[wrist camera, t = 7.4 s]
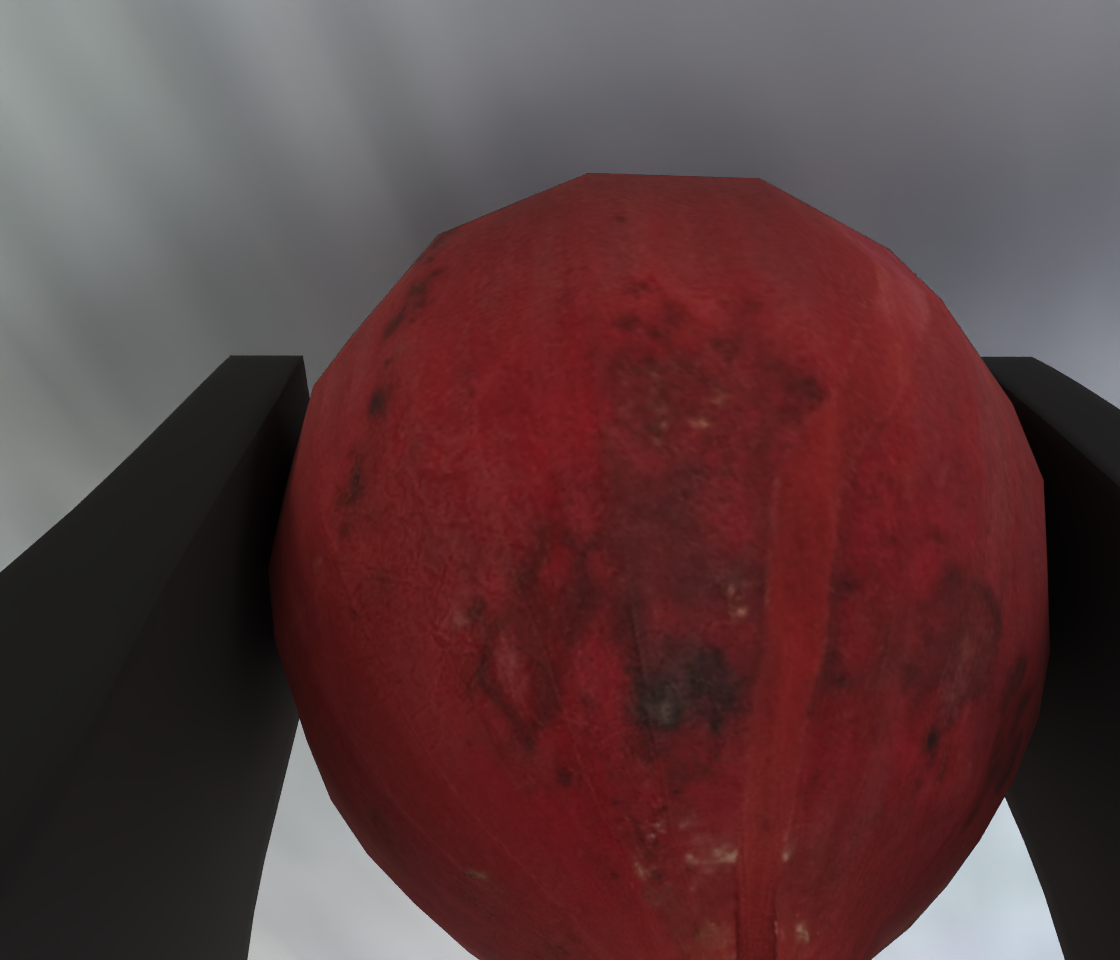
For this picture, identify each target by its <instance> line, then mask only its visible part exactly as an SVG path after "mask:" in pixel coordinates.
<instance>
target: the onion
mask: <svg viewBox="0 0 1120 960" xmlns="http://www.w3.org/2000/svg"><path fill="white" fill-rule="evenodd" d="M268 576H269V586H270V596H271V606H272V616H273V627H274V637H275V644H276V647H277V650H278V653H279V656H280V659H281V662H282V666H283V669H284V672H285V675H286V678H287V681H288V684H289V687H290V690H291V693H292V696H293V700H294V703H295V706H296V709H297V712H298V715H299V718H300V721H301V724H302V727H303V730H304V734H305V737H306V740H307V742H308V745H309V747H310V750H311V752H312V755H313V757H314V760H315V762H316V765H317V767H318V769H319V772H320V774H321V777H322V779H323V782H324V784H325V787H326V789H327V792H328V794H329V796H330V799H331V801H332V802H333V804H334V805H335V807H336V808H337V810H338V811H339V813H340V814H341V816H342V817H343V819H344V820H345V822H346V823H347V825H348V826H349V828H350V829H351V831H352V832H353V833H354V835H355V836H356V838H357V839H358V841H359V842H360V844H361V845H362V847H363V848H364V850H365V851H366V853H367V854H368V855H369V856H370V857H371V858H372V859H373V860H374V862H375V863H376V864H377V865H378V866H379V867H380V868H381V869H382V870H383V871H384V872H385V873H386V874H387V875H388V876H389V877H390V878H391V879H392V880H393V882H394V883H395V884H396V885H397V886H398V887H399V888H400V889H401V890H402V891H403V892H404V893H405V894H406V895H407V896H408V897H409V898H410V899H411V900H412V901H413V903H414V904H416V905H417V906H418V907H419V908H420V909H421V910H422V911H423V912H424V913H426V914H427V915H428V916H429V917H430V918H431V919H432V920H433V921H434V922H436V923H437V924H438V925H439V926H440V927H441V928H442V929H443V930H444V931H446V932H447V933H448V934H449V935H450V936H451V937H452V938H453V939H454V940H456V941H457V942H458V943H459V944H460V945H461V946H462V947H463V948H465V949H466V950H467V951H468V952H469V953H470V954H472V955H473V956H475V957H476V958H478V959H479V960H871V959H872V958H874V957H875V956H876V955H877V954H878V953H880V952H881V951H882V950H883V949H884V948H886V947H887V946H888V945H889V944H891V943H892V942H893V941H894V940H895V939H897V938H898V937H899V936H900V935H901V934H903V933H904V932H905V931H906V930H907V929H909V928H910V927H911V926H912V925H913V923H914V922H915V921H916V920H917V919H918V918H919V917H920V916H921V914H922V913H923V912H924V911H925V910H926V909H927V908H928V907H929V906H930V904H931V903H932V902H933V901H934V900H935V899H936V898H937V897H938V895H939V894H940V893H941V892H942V891H943V890H944V889H945V888H946V886H947V885H948V884H949V882H950V881H951V880H952V878H953V877H954V876H955V874H956V873H957V871H958V870H959V869H960V867H961V866H962V864H963V863H964V862H965V860H966V859H967V857H968V856H969V855H970V853H971V852H972V850H973V849H974V848H975V846H976V845H977V844H978V842H979V841H980V839H981V837H982V836H983V834H984V832H985V830H986V829H987V827H988V825H989V823H990V822H991V820H992V818H993V816H994V815H995V813H996V811H997V809H998V808H999V806H1000V804H1001V802H1002V801H1003V799H1004V797H1005V795H1006V793H1007V792H1008V790H1009V788H1010V786H1011V785H1012V783H1013V781H1014V779H1015V776H1016V774H1017V771H1018V769H1019V766H1020V764H1021V761H1022V758H1023V756H1024V753H1025V751H1026V748H1027V746H1028V743H1029V741H1030V738H1031V736H1032V733H1033V730H1034V728H1035V725H1036V723H1037V720H1038V717H1039V712H1040V706H1041V700H1042V694H1043V689H1044V683H1045V677H1046V671H1047V666H1048V660H1049V654H1050V632H1049V602H1048V573H1047V548H1046V525H1045V502H1044V480H1043V478H1042V475H1041V473H1040V470H1039V468H1038V465H1037V463H1036V461H1035V458H1034V456H1033V453H1032V451H1031V448H1030V446H1029V443H1028V441H1027V438H1026V436H1025V433H1024V431H1023V429H1022V426H1021V424H1020V421H1019V419H1018V416H1017V414H1016V411H1015V409H1014V406H1013V404H1012V402H1011V401H1010V400H1009V398H1008V397H1007V395H1006V394H1005V392H1004V391H1003V389H1002V388H1001V386H1000V385H999V383H998V382H997V380H996V379H995V378H994V376H993V375H992V373H991V372H990V370H989V369H988V367H987V366H986V364H985V363H984V361H983V360H982V358H981V357H980V356H979V354H978V353H977V351H976V350H975V348H974V347H973V345H972V344H971V342H970V341H969V339H968V338H967V336H966V335H965V334H964V332H963V331H962V329H961V328H960V326H959V325H958V323H957V322H956V320H955V319H954V317H953V316H952V314H951V313H950V311H949V310H948V309H947V307H946V306H945V304H944V303H943V301H942V300H941V299H940V298H939V297H938V296H937V295H936V294H935V293H934V292H933V291H932V290H931V289H930V288H929V287H928V286H927V285H926V284H925V283H924V282H923V281H922V280H921V279H920V278H919V277H917V276H916V275H915V274H914V273H913V272H912V271H911V270H910V269H909V268H908V267H907V266H906V265H905V264H904V263H903V262H902V261H901V260H900V259H899V258H898V257H897V256H896V255H895V254H894V253H893V252H891V251H890V250H889V249H888V248H886V247H884V246H882V245H880V244H879V243H877V242H875V241H873V240H871V239H869V238H868V237H866V236H864V235H862V234H860V233H859V232H857V231H855V230H853V229H851V228H849V227H848V226H846V225H844V224H842V223H840V222H838V221H837V220H835V219H833V218H831V217H829V216H828V215H826V214H824V213H822V212H820V211H818V210H817V209H815V208H813V207H811V206H809V205H808V204H806V203H804V202H802V201H800V200H798V199H797V198H795V197H793V196H791V195H789V194H787V193H786V192H784V191H782V190H780V189H778V188H777V187H775V186H773V185H771V184H769V183H767V182H766V181H764V180H762V179H760V178H733V177H701V176H669V175H637V174H605V173H587V174H585V175H582V176H580V177H577V178H575V179H572V180H570V181H568V182H565V183H563V184H560V185H558V186H555V187H553V188H551V189H548V190H546V191H543V192H541V193H538V194H536V195H533V196H531V197H529V198H526V199H524V200H521V201H519V202H516V203H514V204H512V205H509V206H507V207H504V208H502V209H499V210H497V211H494V212H492V213H490V214H487V215H485V216H482V217H480V218H477V219H475V220H473V221H470V222H468V223H465V224H463V225H460V226H458V227H455V228H453V229H451V230H448V231H446V232H443V233H441V234H438V235H437V237H436V238H435V239H434V240H433V241H432V242H431V244H430V245H429V246H428V247H427V248H426V249H425V251H424V252H423V253H422V254H421V255H420V256H419V258H418V259H417V260H416V261H415V262H414V264H413V265H412V266H411V267H410V268H409V269H408V271H407V272H406V273H405V274H404V275H403V276H402V278H401V279H400V280H399V281H398V282H397V283H396V285H395V286H394V287H393V288H392V289H391V291H390V292H389V293H388V294H387V295H386V296H385V298H384V299H383V300H382V301H381V302H380V303H379V305H378V306H377V307H376V308H375V309H374V310H373V312H372V313H371V314H370V315H369V316H368V317H367V319H366V320H365V321H364V322H363V323H362V325H361V326H360V327H359V328H358V329H357V330H356V332H355V333H354V334H353V335H352V336H351V338H350V339H349V340H348V342H347V343H346V344H345V346H344V347H343V348H342V349H341V351H340V352H339V353H338V355H337V356H336V357H335V359H334V360H333V361H332V362H331V364H330V365H329V366H328V368H327V369H326V370H325V372H324V373H323V374H322V375H321V377H320V378H319V379H318V381H317V382H316V383H315V385H314V386H313V389H312V393H311V397H310V400H309V404H308V407H307V411H306V415H305V418H304V422H303V425H302V429H301V432H300V436H299V440H298V443H297V447H296V450H295V454H294V457H293V461H292V465H291V468H290V472H289V475H288V479H287V483H286V487H285V492H284V496H283V501H282V505H281V510H280V515H279V519H278V524H277V529H276V533H275V538H274V543H273V547H272V552H271V558H270V563H269V568H268Z"/></svg>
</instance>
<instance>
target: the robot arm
mask: <svg viewBox="0 0 1120 960" xmlns="http://www.w3.org/2000/svg"><path fill="white" fill-rule="evenodd" d="M981 358H982V360H983V361H984V363H985V364H986V366H987V367H988V369H989V370H990V372H991V373H992V375H993V376H994V378H995V379H996V380H997V382H998V383H999V385H1000V386H1001V388H1002V389H1003V391H1004V392H1005V394H1006V395H1007V397H1008V398H1009V400H1010V401H1011V402H1012V404H1013V406H1014V409H1015V411H1016V414H1017V416H1018V419H1019V421H1020V424H1021V426H1022V429H1023V431H1024V433H1025V436H1026V438H1027V441H1028V443H1029V446H1030V448H1031V451H1032V453H1033V456H1034V458H1035V461H1036V463H1037V465H1038V468H1039V470H1040V473H1041V475H1042V478H1043V480H1044V502H1045V525H1046V548H1047V573H1048V602H1049V632H1050V654H1049V660H1048V666H1047V671H1046V677H1045V683H1044V689H1043V694H1042V700H1041V706H1040V712H1039V717H1038V720H1037V723H1036V725H1035V728H1034V730H1033V733H1032V736H1031V738H1030V741H1029V743H1028V746H1027V748H1026V751H1025V753H1024V756H1023V758H1022V761H1021V764H1020V766H1019V769H1018V771H1017V774H1016V776H1015V779H1014V781H1013V783H1012V785H1011V786H1010V788H1009V790H1008V792H1007V793H1006V795H1005V798H1006V801H1007V803H1008V805H1009V808H1010V810H1011V812H1012V815H1013V817H1014V819H1015V821H1016V824H1017V826H1018V828H1019V831H1020V833H1021V835H1022V838H1023V840H1024V842H1025V845H1026V848H1027V850H1028V853H1029V855H1030V858H1031V861H1032V863H1033V866H1034V868H1035V871H1036V874H1037V876H1038V879H1039V882H1040V884H1041V887H1042V889H1043V892H1044V895H1045V898H1046V901H1047V904H1048V907H1049V911H1050V914H1051V917H1052V920H1053V923H1054V927H1055V930H1056V933H1057V936H1058V939H1059V943H1060V946H1061V949H1062V952H1063V955H1064V959H1065V960H1120V409H1118V408H1117V407H1115V406H1114V405H1112V404H1110V403H1109V402H1107V401H1106V400H1104V399H1103V398H1101V397H1100V396H1098V395H1096V394H1095V393H1093V392H1092V391H1090V390H1089V389H1087V388H1085V387H1084V386H1082V385H1081V384H1079V383H1077V382H1076V381H1074V380H1072V379H1071V378H1069V377H1068V376H1066V375H1064V374H1062V373H1061V372H1059V371H1057V370H1056V369H1054V368H1052V367H1050V366H1048V365H1046V364H1045V363H1043V362H1041V361H1039V360H1037V359H1035V358H1033V357H981ZM309 400H310V397H309V391H308V385H307V379H306V372H305V366H304V360H303V356H230V357H229V358H228V359H226V360H225V361H224V362H223V363H222V364H221V365H220V366H219V367H218V368H217V369H216V370H215V371H214V372H213V373H212V374H211V375H210V376H209V377H208V378H207V379H206V380H205V381H204V382H203V383H202V384H201V385H200V386H199V387H198V388H197V389H196V390H195V391H194V392H193V393H192V394H191V395H190V396H189V397H188V398H187V399H186V400H185V401H184V402H183V403H182V404H181V405H180V406H179V407H178V408H177V409H176V410H175V411H174V412H173V413H172V414H171V415H170V416H169V417H168V418H167V419H166V420H165V421H164V422H163V423H162V424H161V425H160V426H159V427H158V428H157V429H156V430H155V431H154V432H153V433H152V434H151V435H150V436H149V437H148V438H147V439H146V440H145V441H144V442H143V443H142V444H141V445H140V446H139V447H138V448H137V449H136V450H135V451H134V452H133V453H132V454H131V455H130V456H129V457H127V458H126V459H125V460H124V461H123V462H122V463H121V464H120V465H119V466H118V467H117V468H116V469H115V470H114V471H113V472H112V473H111V474H110V475H109V476H108V477H107V478H106V479H104V480H103V481H102V482H101V483H100V484H99V485H98V486H97V487H96V488H95V489H94V490H93V491H92V492H91V493H90V494H89V495H88V496H87V497H86V498H85V499H84V500H82V501H81V502H80V503H79V504H78V505H77V506H76V507H75V508H74V509H73V510H72V511H71V512H69V513H68V514H67V515H66V516H65V517H64V518H63V519H61V520H60V521H59V522H58V523H57V524H56V525H54V526H53V527H52V528H51V529H50V530H49V531H48V532H46V533H45V534H44V535H43V536H42V537H41V538H39V539H38V540H37V541H36V542H35V543H34V544H33V545H31V546H30V547H29V548H28V549H27V550H26V551H25V552H23V553H22V554H21V555H20V556H19V557H18V558H16V559H15V560H14V561H13V562H12V563H11V564H10V565H8V566H7V567H6V568H5V569H4V570H3V571H1V572H0V960H247V958H248V951H249V944H250V937H251V930H252V923H253V916H254V910H255V905H256V900H257V895H258V890H259V885H260V880H261V875H262V870H263V865H264V860H265V856H266V852H267V848H268V844H269V840H270V836H271V832H272V827H273V823H274V819H275V815H276V811H277V807H278V803H279V799H280V795H281V791H282V787H283V783H284V778H285V774H286V770H287V766H288V762H289V758H290V754H291V750H292V746H293V742H294V738H295V734H296V729H297V725H298V721H299V715H298V712H297V709H296V706H295V703H294V700H293V696H292V693H291V690H290V687H289V684H288V681H287V678H286V675H285V672H284V669H283V666H282V662H281V659H280V656H279V653H278V650H277V647H276V644H275V637H274V627H273V616H272V606H271V596H270V586H269V576H268V568H269V563H270V558H271V552H272V547H273V543H274V538H275V533H276V529H277V524H278V519H279V515H280V510H281V505H282V501H283V496H284V492H285V487H286V483H287V479H288V475H289V472H290V468H291V465H292V461H293V457H294V454H295V450H296V447H297V443H298V440H299V436H300V432H301V429H302V425H303V422H304V418H305V415H306V411H307V407H308V404H309Z"/></svg>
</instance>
